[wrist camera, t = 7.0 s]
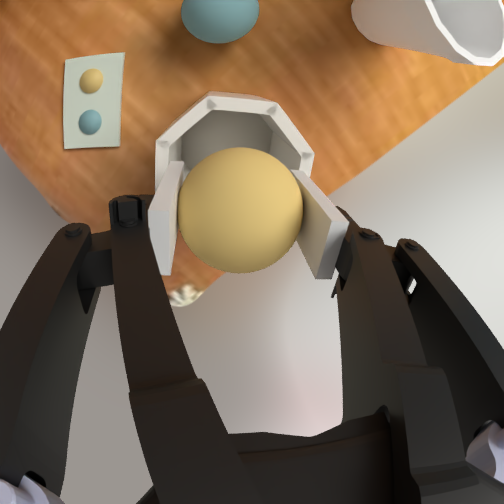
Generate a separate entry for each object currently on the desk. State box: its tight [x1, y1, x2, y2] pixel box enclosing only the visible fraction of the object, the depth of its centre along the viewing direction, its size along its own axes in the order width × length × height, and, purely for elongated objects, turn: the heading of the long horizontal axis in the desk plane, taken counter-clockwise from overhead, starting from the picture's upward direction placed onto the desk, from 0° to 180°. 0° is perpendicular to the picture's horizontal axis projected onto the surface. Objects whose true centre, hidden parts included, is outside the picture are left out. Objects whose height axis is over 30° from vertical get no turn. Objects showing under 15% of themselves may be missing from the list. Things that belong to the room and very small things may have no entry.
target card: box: [63, 52, 125, 149], centre depth 22 cm, size 9×6×1 cm, turn 173°
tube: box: [155, 91, 315, 193], centre depth 22 cm, size 10×10×10 cm
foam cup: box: [351, 0, 504, 66], centre depth 15 cm, size 10×9×13 cm
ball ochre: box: [177, 147, 303, 273], centre depth 14 cm, size 6×6×6 cm
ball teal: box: [181, 0, 259, 43], centre depth 17 cm, size 6×6×6 cm
